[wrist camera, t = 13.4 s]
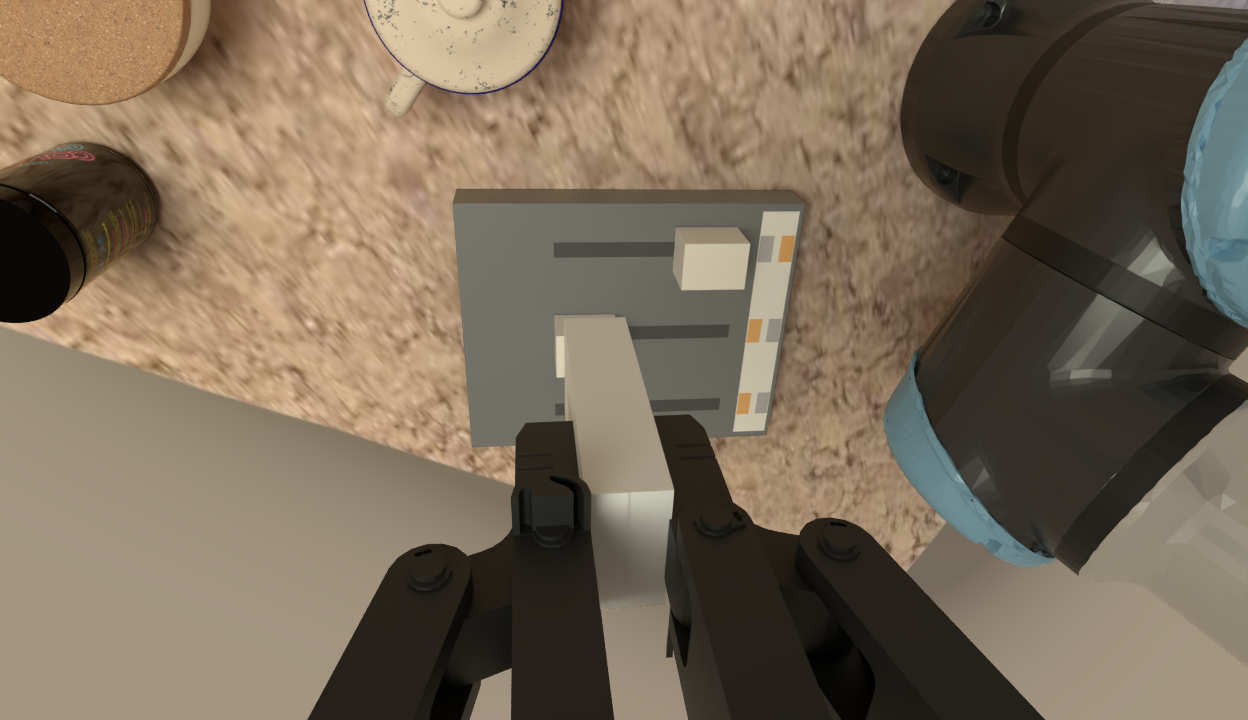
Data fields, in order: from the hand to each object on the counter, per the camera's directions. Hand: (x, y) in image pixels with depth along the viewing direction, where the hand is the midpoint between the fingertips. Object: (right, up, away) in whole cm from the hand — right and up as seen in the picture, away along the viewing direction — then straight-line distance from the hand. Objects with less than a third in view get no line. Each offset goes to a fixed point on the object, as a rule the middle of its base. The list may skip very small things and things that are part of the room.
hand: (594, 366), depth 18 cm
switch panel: (+1, +3, +33) cm, 34 cm away
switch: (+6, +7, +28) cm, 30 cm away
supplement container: (-31, +10, +25) cm, 41 cm away
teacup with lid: (-9, +20, +23) cm, 32 cm away
